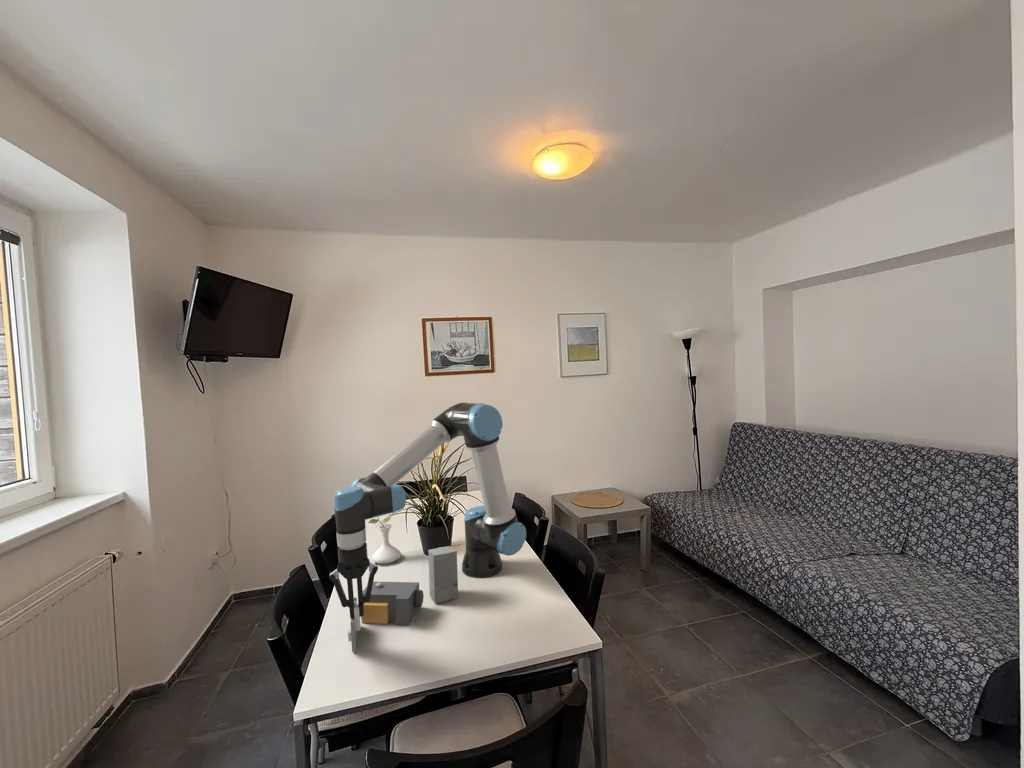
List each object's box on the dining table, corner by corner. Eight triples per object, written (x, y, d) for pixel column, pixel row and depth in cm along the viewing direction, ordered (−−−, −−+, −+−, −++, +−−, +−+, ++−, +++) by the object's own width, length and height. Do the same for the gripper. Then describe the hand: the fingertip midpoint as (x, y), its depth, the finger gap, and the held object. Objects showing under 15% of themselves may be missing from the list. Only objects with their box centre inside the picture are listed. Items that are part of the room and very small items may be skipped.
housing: (425, 607, 141) (423, 580, 140) (412, 629, 129) (410, 600, 128) (370, 605, 143) (369, 579, 143) (353, 627, 131) (351, 598, 131)
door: (351, 627, 130) (349, 601, 130) (357, 626, 131) (356, 600, 130) (348, 652, 119) (347, 623, 118) (356, 650, 119) (354, 622, 119)
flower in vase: (405, 554, 182) (402, 494, 181) (395, 566, 171) (392, 502, 170) (374, 553, 184) (371, 494, 183) (363, 566, 172) (359, 503, 171)
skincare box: (435, 605, 142) (432, 556, 141) (428, 595, 148) (426, 549, 147) (460, 598, 146) (457, 550, 145) (452, 588, 152) (450, 543, 151)
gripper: (376, 535, 126) (381, 615, 128) (328, 543, 122) (334, 626, 124) (376, 545, 119) (382, 630, 120) (325, 554, 115) (332, 641, 116)
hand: (357, 627), depth 122 cm, fingers closed
